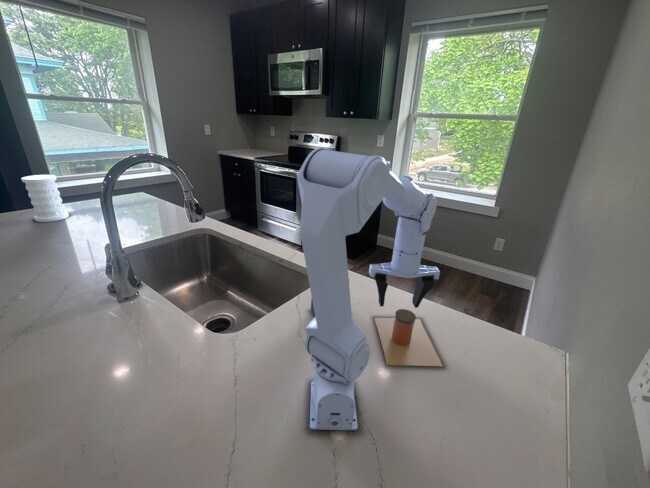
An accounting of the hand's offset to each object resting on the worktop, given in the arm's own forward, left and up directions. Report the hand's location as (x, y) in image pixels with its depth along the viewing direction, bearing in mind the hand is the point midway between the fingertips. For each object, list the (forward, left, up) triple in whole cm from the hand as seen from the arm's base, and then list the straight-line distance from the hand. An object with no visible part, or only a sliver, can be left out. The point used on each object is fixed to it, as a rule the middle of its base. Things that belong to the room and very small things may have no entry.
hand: (398, 304), depth 66 cm
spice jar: (0, -2, -10) cm, 10 cm away
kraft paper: (0, -3, -10) cm, 11 cm away
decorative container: (+73, +137, -10) cm, 156 cm away
